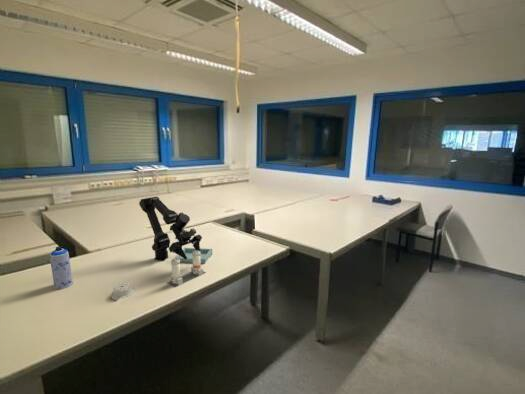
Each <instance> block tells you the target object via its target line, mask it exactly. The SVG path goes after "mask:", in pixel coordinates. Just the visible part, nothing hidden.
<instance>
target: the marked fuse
mask: <svg viewBox="0 0 525 394" xmlns="http://www.w3.org/2000/svg"><path fill="white" fill-rule="evenodd" d="M192 256H193V263H192V266H193V274H194V275H198V270H199V269H201V267H202V265H201V264H202V263H200V251H193V252H192Z"/></svg>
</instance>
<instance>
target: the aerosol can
mask: <svg viewBox="0 0 525 394" xmlns="http://www.w3.org/2000/svg"><path fill="white" fill-rule="evenodd" d="M49 260H50V261H49V262H50V267H51V273H52V279H53V288H54V289H56V290H63V289H68V288H69V287H72V286H73V285H74V282H73V277H72V269H71V261H70V260H71V259H70V254H69V251H68V250H67V249H66V248H62V246H60V245H58V246H56V247H55V249H54V250H53V251H51V252H50V253H49Z"/></svg>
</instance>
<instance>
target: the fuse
mask: <svg viewBox="0 0 525 394" xmlns="http://www.w3.org/2000/svg"><path fill="white" fill-rule="evenodd" d="M170 263H171V275H172V283H173V284H177V279H179V278H181V276H182V275H181V262H180V259H178V258H175V257H174V258H172V259H171V260H170Z"/></svg>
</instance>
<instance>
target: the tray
mask: <svg viewBox="0 0 525 394" xmlns="http://www.w3.org/2000/svg"><path fill="white" fill-rule="evenodd" d="M182 250H183V251H184V253H185V255H186V257H187V259H184V258H183V257H181V256H180V255H178V254H176V256H175V257H174V259H175V258H178V259H180V263H185V264H186V263H187V264H188V263H189V264H193V256H192V252H193V251H196V249H195V248H194V247H183V248H182ZM200 251H201V253H200V263H201V264H206V263H207V262H208V261H209V259H210V258H211V257H212V255H213V248H201V247H200Z"/></svg>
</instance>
